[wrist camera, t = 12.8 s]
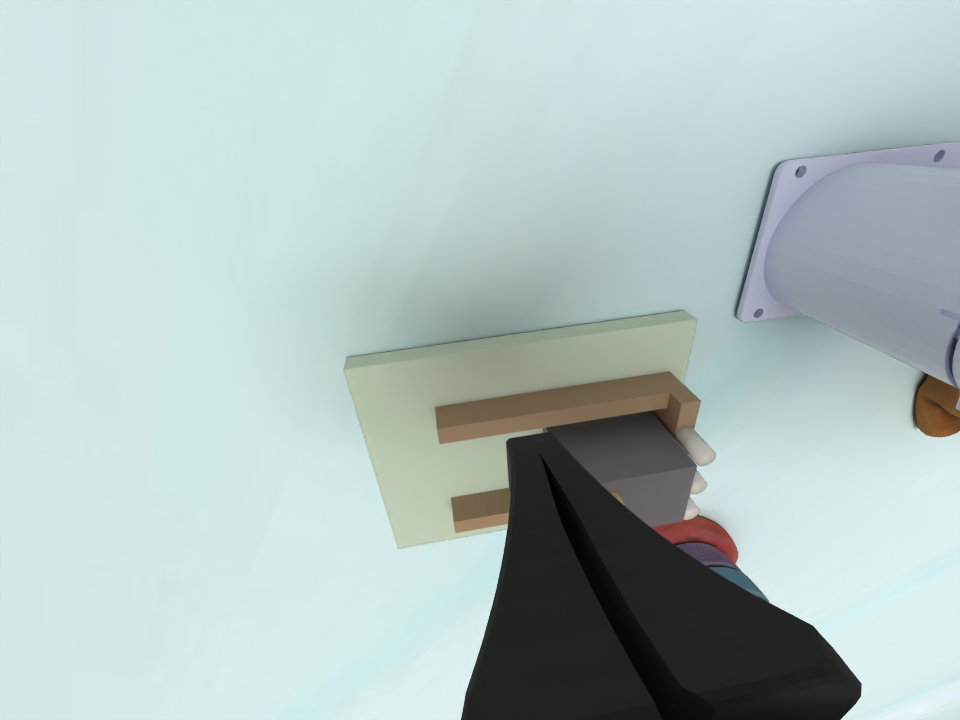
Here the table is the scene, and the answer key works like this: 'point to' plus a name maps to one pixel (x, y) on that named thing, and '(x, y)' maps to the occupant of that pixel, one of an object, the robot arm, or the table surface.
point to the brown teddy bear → (937, 408)
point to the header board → (509, 412)
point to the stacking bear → (709, 548)
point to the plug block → (634, 463)
